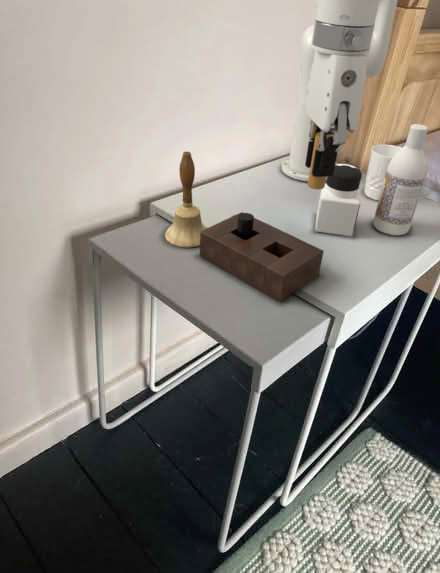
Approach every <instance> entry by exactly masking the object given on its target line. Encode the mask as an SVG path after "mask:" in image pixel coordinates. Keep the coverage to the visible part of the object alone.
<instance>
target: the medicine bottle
mask: <svg viewBox="0 0 440 573" xmlns="http://www.w3.org/2000/svg"><path fill="white" fill-rule="evenodd" d="M362 176H363V173H362V171H361V169H359V168H358V167H356V166H354V165H351V164H348V163H337V164H335V168H334V173H333V175H332V176H330V177H327V181H325V187H324V188H323V189H320V194H319V200H318V205H317V209H316V210H317V211H316V217H315V225H314V226H315V227H314V231H315V232H316V233H323V234H328V235H329V234H331V235H338V236H345V237H353V235H354V232H355V228H356V224H357V220H358V215H359V211H360V207H361V195H360V194H361V193H360V185H361V182H362Z"/></svg>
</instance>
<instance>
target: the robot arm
mask: <svg viewBox="0 0 440 573" xmlns="http://www.w3.org/2000/svg"><path fill="white" fill-rule="evenodd" d="M397 4H398V0H314V5H315V7H316V15H315V20H314V23H313V24H311V25H310V26H308V27H307V28H306V29H304V31H303V33H302V36H301V40H300V47H299V48H300V49H299V62H300V63H299V64H300V65H299V68H300V69H299V81H298V82H299V84H298V93H297V100H296V107H295V114H294V122H293V123H294V124H293V128H292V137H291V143H290V144H291V145H290V152H289V158H288V159H286V160H283V162H282V163H281V171H282V173H283V174H284V175H286V176H287V177H289V178H291V179H294V180H297V181H301V182H306V183H308V179H309V173H310V167H311V161H312V155H313V149H314V143H315V137H316V133H319V132H321V133H320V140H319V147H318V149H316V150H315V156H314V162H313V168H312V175H313V176H314V177H326V181H327V177H330V176H332V175H333V173H334V168H335V165H336V162H337V158H338V156H339V155H340V147H341V145H342V146H343V145H345V144H346V143H347V132H349V133H355V132H356V131H357V130H358V128H359V122H360V117H361V113H362V112H361V111H362V106H363V99H364V94H365V86H366V79H369V78H370V79H371V78H376V77H377V76H378V75H380V73H381V72H382V71H383V68H384V66H385V63H386V60H387V56H388V55H387V54H388V50H389V46H390V40H391V34H392V30H393V25H394V20H395V15H396V10H397ZM327 135H333V136H331V137H328V138H327V139H326V137H327ZM326 181H325V182H326Z"/></svg>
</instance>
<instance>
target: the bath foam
mask: <svg viewBox="0 0 440 573" xmlns="http://www.w3.org/2000/svg"><path fill="white" fill-rule="evenodd" d="M428 131H429V127H428V126H426V125H424V124H420V123H413V124H411V125H410V127H409V132H408V134H407V138H406V140H405V141H406V142H405V145H404V146H403V147H401V148H402V149H401V150H400V151H398V152H397V153H396V154H395V156H394V157H393V158H392V159H391V161H390V163H389V165H388V168H387V171H386V175H385V179H384V182H383V186H382V190H381V194H380V198H379V200H377V201H378V202H377V205H376V209H375V212H374V213H375V214H374V217H373V223H372V224H373V226H374V228H375V229H376V230H377V231H379V232H381V233H383V234H386V235H390V236H403V235H405V234H407V233H408V232H409V231H410V228H411V225H412V222H413V219H414V216H415V213H416V209H417V206H418V203H419V199H420V196H421V193H422V190H423V187H424V184H425V181H426V179H427V178H426V177H427V173H428V162H427V158H426V155H425V152H424V149H423V147H424V144H425V140H426V137H427V134H428Z"/></svg>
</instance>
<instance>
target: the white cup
mask: <svg viewBox="0 0 440 573" xmlns="http://www.w3.org/2000/svg"><path fill="white" fill-rule="evenodd" d="M402 148H403V147H401V146H399V145H394V144H376V145H375V144H374V145H373V146H372V147H371V149H370V150H371V151H370V156H369V161H368V167H367V171H366V172H367V173H366V177H365V185H364V190H363V192H364V195H365V196H366V197H368V198H369V199H371V200H375V201H379V198H380V194H381V190H382V186H383V182H384V179H385V175H386V171H387V168H388V165H389V163H390V161H391V159H392V158H393V157H394V156H395V154H396V153H397V152H398V151H400V150H401V149H402Z"/></svg>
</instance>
